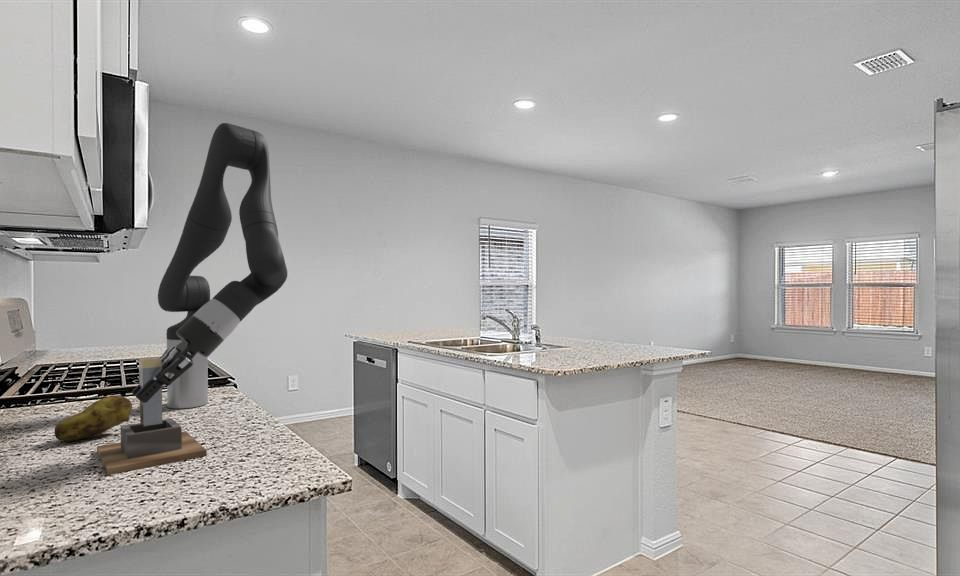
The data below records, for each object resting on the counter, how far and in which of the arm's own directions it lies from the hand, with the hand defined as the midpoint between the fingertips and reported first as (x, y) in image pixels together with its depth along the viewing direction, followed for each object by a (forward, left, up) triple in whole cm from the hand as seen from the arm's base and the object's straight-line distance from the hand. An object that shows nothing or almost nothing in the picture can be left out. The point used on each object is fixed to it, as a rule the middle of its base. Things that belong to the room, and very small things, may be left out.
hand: (138, 397), depth 99 cm
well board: (0, +2, -11) cm, 11 cm away
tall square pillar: (0, +2, -5) cm, 5 cm away
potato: (-21, -1, -11) cm, 23 cm away
